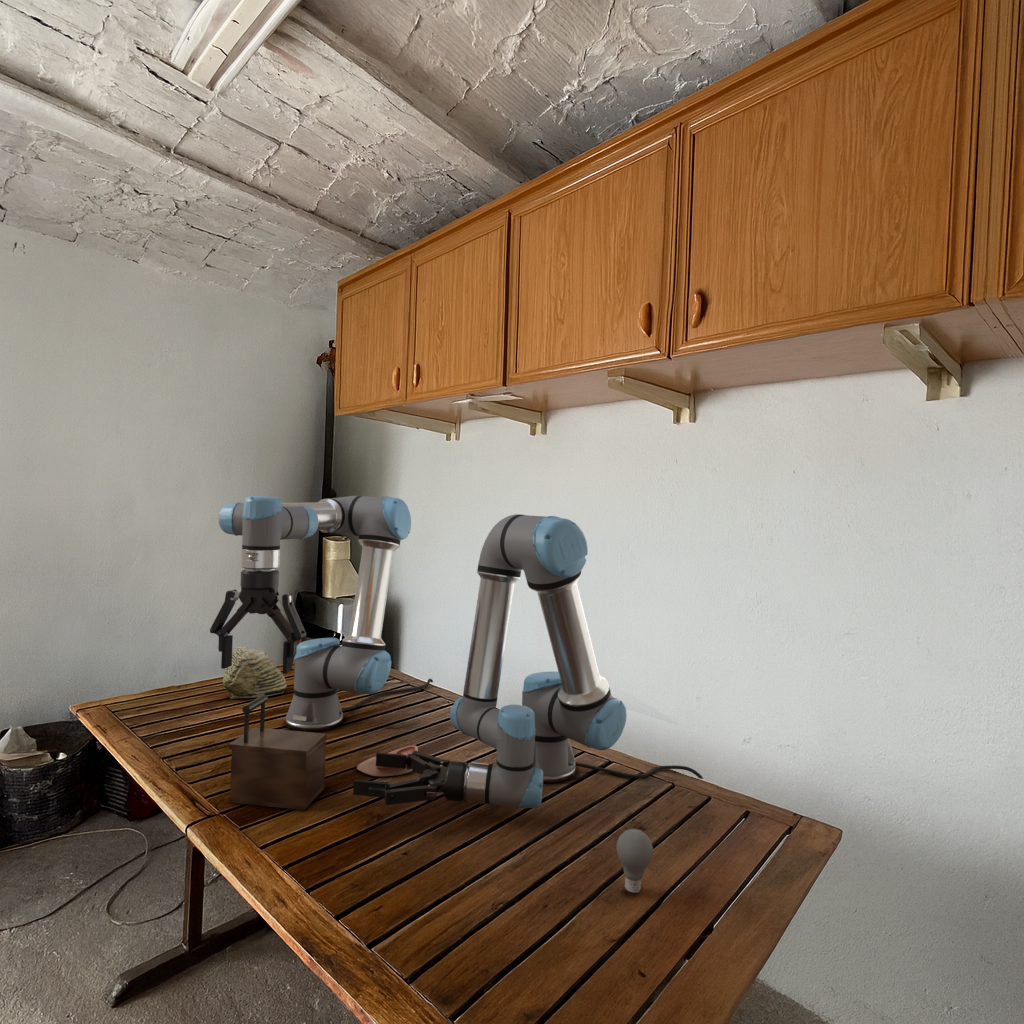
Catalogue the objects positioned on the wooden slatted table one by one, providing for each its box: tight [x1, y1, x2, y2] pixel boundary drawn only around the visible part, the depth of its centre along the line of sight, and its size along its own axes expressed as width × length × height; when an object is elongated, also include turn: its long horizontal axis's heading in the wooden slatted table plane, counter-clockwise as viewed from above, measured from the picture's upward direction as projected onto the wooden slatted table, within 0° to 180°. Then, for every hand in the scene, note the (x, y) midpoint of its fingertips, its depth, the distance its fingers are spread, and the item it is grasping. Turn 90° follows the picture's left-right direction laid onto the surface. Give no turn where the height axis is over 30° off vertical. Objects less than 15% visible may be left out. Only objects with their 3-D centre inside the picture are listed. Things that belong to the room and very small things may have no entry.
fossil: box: [222, 646, 288, 699], centre depth 198 cm, size 9×18×15 cm, turn 132°
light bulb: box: [615, 828, 654, 894], centre depth 106 cm, size 6×6×10 cm
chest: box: [229, 738, 327, 811], centre depth 133 cm, size 16×10×11 cm, turn 83°
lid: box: [228, 695, 327, 756], centre depth 133 cm, size 17×10×9 cm, turn 83°
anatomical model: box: [356, 744, 419, 777], centre depth 149 cm, size 13×4×12 cm
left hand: (256, 669), depth 134 cm, fingers open, 13 cm apart
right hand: (365, 772), depth 131 cm, fingers open, 13 cm apart
